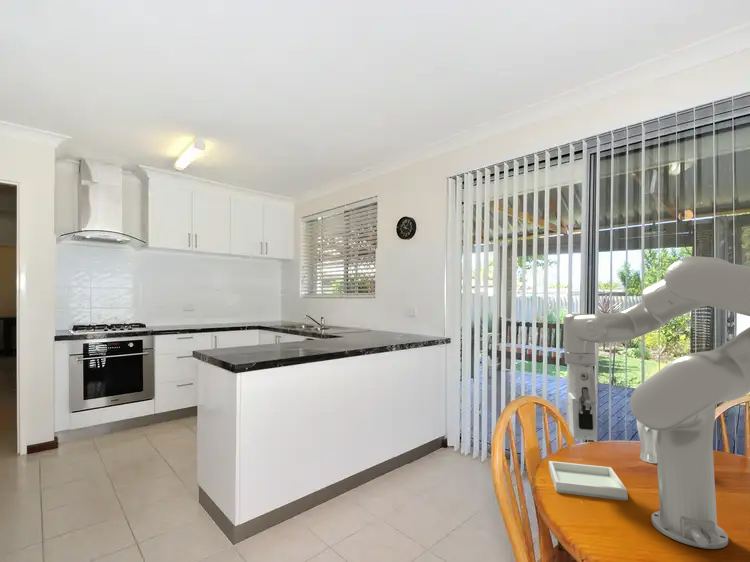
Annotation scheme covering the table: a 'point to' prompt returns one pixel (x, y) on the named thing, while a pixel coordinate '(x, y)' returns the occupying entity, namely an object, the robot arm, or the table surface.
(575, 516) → the table surface
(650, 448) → the beer glass
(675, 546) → the table surface
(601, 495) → the carrier tray
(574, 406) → the small box
